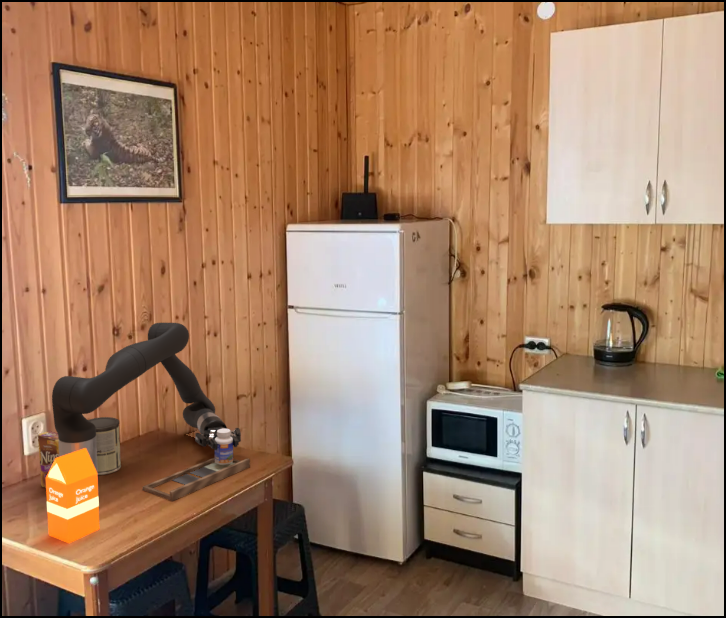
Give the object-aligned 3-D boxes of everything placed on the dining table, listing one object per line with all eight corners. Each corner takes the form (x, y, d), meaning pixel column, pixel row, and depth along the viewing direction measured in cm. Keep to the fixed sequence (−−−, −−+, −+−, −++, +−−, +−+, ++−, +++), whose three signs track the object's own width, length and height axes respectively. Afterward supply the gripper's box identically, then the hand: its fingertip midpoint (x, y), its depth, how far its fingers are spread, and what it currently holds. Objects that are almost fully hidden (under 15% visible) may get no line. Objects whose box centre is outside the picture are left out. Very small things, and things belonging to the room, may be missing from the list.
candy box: (39, 487, 202) (36, 434, 199) (53, 482, 205) (50, 429, 203) (61, 494, 197) (58, 440, 195) (74, 489, 201) (72, 435, 198)
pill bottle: (220, 466, 215) (220, 435, 213) (211, 461, 219) (210, 430, 217) (236, 462, 218) (236, 431, 217) (227, 456, 222) (226, 426, 221)
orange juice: (48, 535, 175) (43, 455, 171) (79, 521, 182) (76, 444, 179) (69, 543, 171) (65, 462, 167) (100, 529, 178) (97, 450, 175)
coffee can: (78, 467, 216) (76, 421, 214) (112, 459, 223) (110, 414, 221) (92, 478, 209) (90, 430, 206) (127, 469, 215) (125, 423, 213)
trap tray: (172, 501, 195) (172, 492, 194) (142, 490, 201) (142, 481, 201) (249, 466, 219) (249, 459, 219) (221, 458, 226) (220, 450, 225)
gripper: (188, 418, 226) (201, 436, 211) (233, 413, 233) (249, 430, 218) (188, 441, 228) (202, 461, 213) (233, 435, 234) (249, 454, 219)
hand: (226, 445), depth 215 cm, fingers closed on pill bottle, 5 cm apart
